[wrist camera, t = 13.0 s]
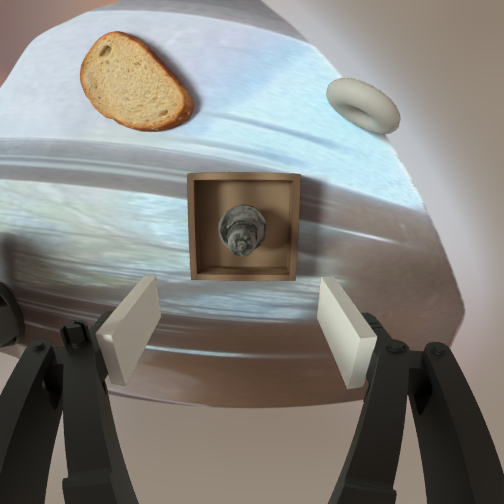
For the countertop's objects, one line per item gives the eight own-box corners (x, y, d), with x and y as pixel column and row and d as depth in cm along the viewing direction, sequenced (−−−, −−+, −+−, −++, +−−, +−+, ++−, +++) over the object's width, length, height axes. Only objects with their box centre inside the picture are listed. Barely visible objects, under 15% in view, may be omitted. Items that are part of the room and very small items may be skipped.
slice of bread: (195, 127, 36) (190, 123, 32) (82, 146, 36) (69, 145, 32) (195, 19, 30) (190, 7, 27) (87, 44, 30) (76, 37, 27)
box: (196, 269, 41) (191, 280, 37) (193, 173, 37) (187, 173, 33) (291, 270, 41) (295, 280, 37) (295, 173, 37) (300, 174, 33)
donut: (313, 104, 34) (334, 85, 25) (324, 85, 34) (347, 62, 24) (373, 141, 36) (409, 136, 26) (382, 122, 35) (419, 113, 25)
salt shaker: (274, 223, 38) (286, 247, 27) (243, 254, 39) (243, 289, 28) (242, 192, 37) (240, 202, 26) (212, 224, 38) (197, 248, 27)
